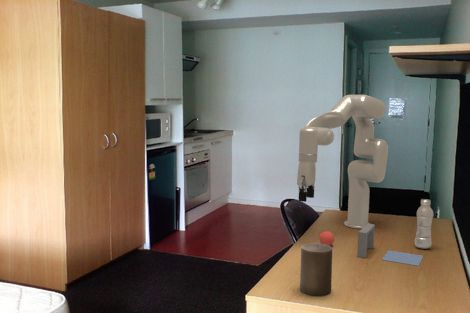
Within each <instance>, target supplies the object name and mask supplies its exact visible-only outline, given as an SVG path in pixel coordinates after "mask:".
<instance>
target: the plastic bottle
mask: <svg viewBox="0 0 470 313" xmlns="http://www.w3.org/2000/svg"><path fill="white" fill-rule="evenodd" d="M431 203H432V202H431V199H428V198H427V199H425V198H421V199H420V206H419V207H418V209H417V211H416V220H417V221H416V223H417V225H416V226H417V227H416V233H415V238H414V244H415V247H416V248H419V249H426V250H427V249H430V248H431V247H432V223H433V218H434V211H433V209H432V208H431Z"/></svg>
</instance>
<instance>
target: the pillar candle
mask: <svg viewBox="0 0 470 313" xmlns="http://www.w3.org/2000/svg"><path fill="white" fill-rule="evenodd" d="M300 248H301V250H300V275H299V276H300V277H299V278H300V282H299V283H300V284H299V289H300V291H301V292H302V293H304V294H306V295H310V296H318V297H319V296H326V295H328V294H329V295H330V294H332V293H331V292H332V277H333V276H332V275H333V274H332V273H333V271H332V270H333V247H332V246H331V245H330V246H329V245H325V244H321V243H320V242H319V243H318V242H314V243H313V242H312V243H311V242H310V243H305V244H302V245H301V246H300Z"/></svg>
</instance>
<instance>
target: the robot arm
mask: <svg viewBox="0 0 470 313" xmlns="http://www.w3.org/2000/svg"><path fill="white" fill-rule="evenodd" d="M385 113H386V107H385V103H384V102H383V101H382V100H380V99H379V98H376V97H373V96H370V95H367V94H347V95H344V96H342V98H340V100H339V101H338V102H337V103H336V104H334V106H333V107H332V108H331V109H330V110H329V111H325V112H324V113H322V114H320V115H317V116H315V117H313V118H312V119H311V120H309V121H308V122H307V123H306V124H305V125H304V127H303V128H301V129H300V130H299V137H298V138H299V144H298V166H297V167H298V168H297V179H296V185H297V186H298V202H307V198H311V199H314V198H315V182H316V176H317V175H316V172H317V170H316V163H318V146H323V147H324V146H329V145H331V144H332V143H333V142H334V140H335V134H334V132H333V130H332V129H336V128H339V127H342V126H344V125H345V124H346V123H347V121H349V119H350V118H352V120H353V122H354V124H355V136H354V144H353V154H354V155H355V157H358V158H364V159H371V160H373V161H370V160H361V159H356V160H351V161H350V163H349V164H348V167H347V175H348V200H347V201H348V202H347V207H348V208H347V220H345V221H344V222H343V224H344V226H345V227H347V228H352V229H360V230H361V229H362V228H363V227H364V226H365V225H366V224H372V223H370V221H369V210H370V206H369V205H370V186H369V184H368V182H369V183H376V184H378V183H382V182H383V180H384V179H385V176H386V172H387V163H388V155H389V147H388V143H387V141H386V140H385V139H382V138H375V125H374V123H373V121H372V120H377V119H378V120H379V119H381V118H383V116H384V115H385ZM371 119H372V120H371Z"/></svg>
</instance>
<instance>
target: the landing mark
mask: <svg viewBox="0 0 470 313" xmlns="http://www.w3.org/2000/svg"><path fill="white" fill-rule="evenodd" d="M423 257H424V255H421V254H420V255H419V254H413V253H407V252H401V251H394V250H387V251H386V253H385V255H384V256H383V257H382V259H381V261H386V262H391V263H398V264H404V265H409V266H416V267H419V266H420V264H421V262H422V261H423Z"/></svg>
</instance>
